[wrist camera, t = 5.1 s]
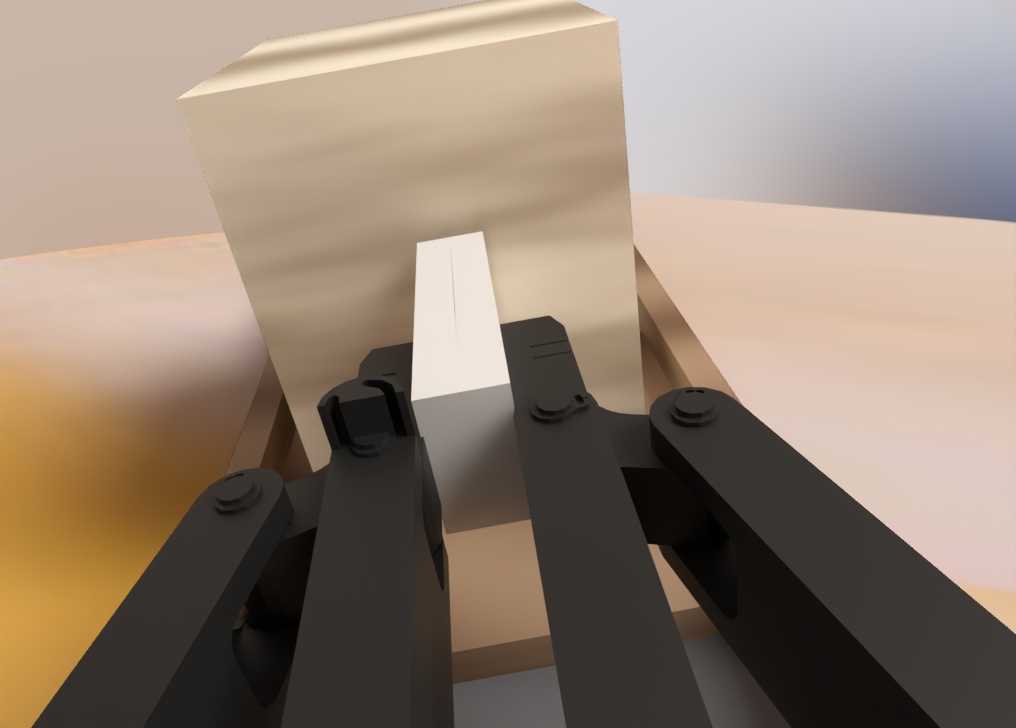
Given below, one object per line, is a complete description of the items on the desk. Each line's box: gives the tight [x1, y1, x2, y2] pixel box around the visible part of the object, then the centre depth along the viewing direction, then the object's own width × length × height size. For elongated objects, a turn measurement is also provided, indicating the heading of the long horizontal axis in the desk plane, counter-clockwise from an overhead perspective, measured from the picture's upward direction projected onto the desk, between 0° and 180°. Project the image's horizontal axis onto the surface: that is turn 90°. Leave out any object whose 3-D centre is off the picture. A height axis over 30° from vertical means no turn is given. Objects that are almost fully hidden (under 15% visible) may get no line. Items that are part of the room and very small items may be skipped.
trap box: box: [225, 244, 791, 728], centre depth 21 cm, size 44×15×3 cm, turn 6°
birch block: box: [176, 0, 645, 472], centre depth 22 cm, size 10×9×12 cm
